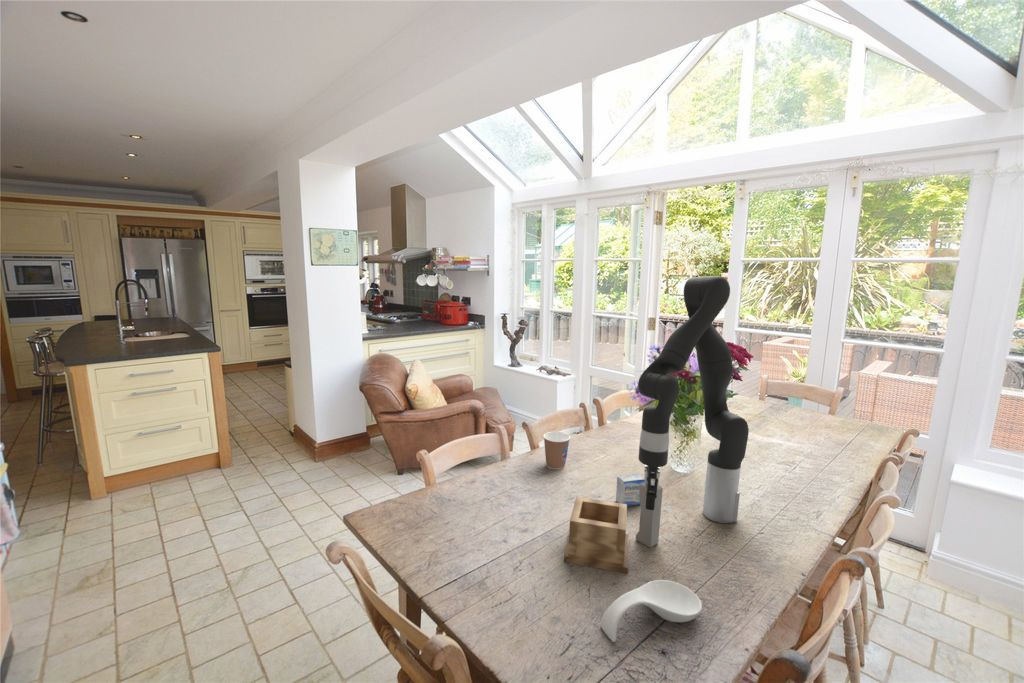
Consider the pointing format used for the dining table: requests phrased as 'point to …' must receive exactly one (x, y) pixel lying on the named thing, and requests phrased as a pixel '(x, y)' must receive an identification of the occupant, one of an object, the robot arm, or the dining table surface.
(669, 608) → the spoon rest
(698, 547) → the dining table surface
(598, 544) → the socket block
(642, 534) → the vintage mobile phone
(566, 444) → the coffee cup
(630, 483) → the medicine box
